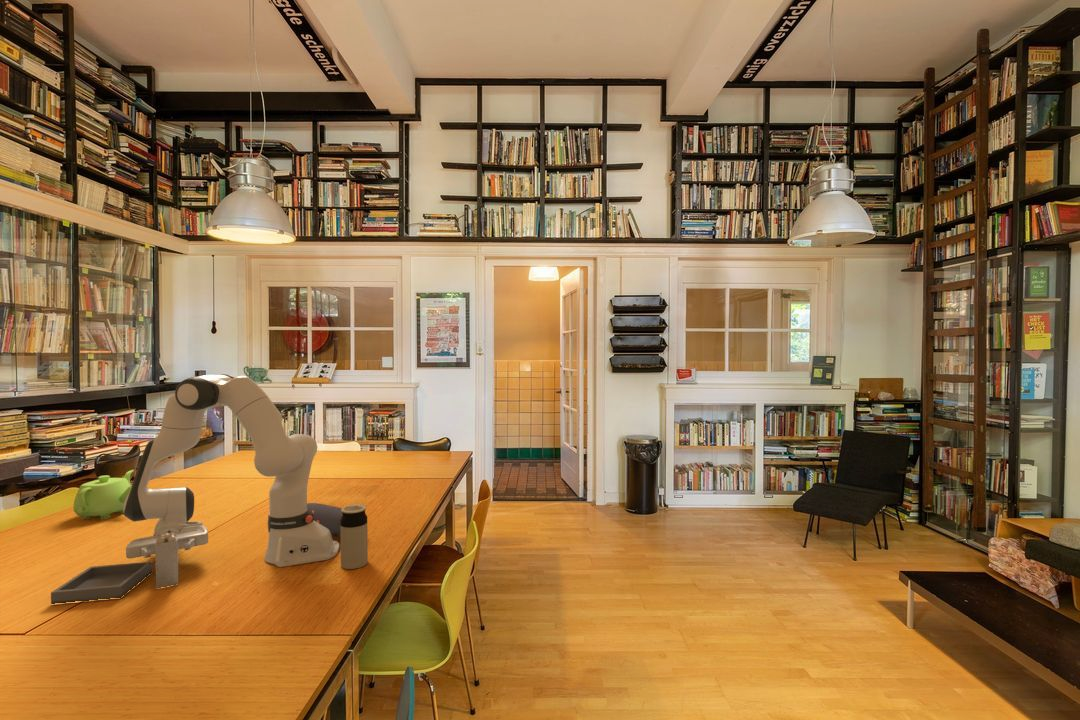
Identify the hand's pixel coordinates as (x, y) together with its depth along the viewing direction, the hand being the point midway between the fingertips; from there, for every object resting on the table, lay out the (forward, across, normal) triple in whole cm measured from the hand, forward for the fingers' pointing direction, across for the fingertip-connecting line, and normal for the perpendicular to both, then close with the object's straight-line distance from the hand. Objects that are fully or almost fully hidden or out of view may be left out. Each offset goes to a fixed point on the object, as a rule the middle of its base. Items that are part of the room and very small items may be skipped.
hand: (167, 551), depth 147 cm
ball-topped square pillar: (+4, 0, +8) cm, 9 cm away
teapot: (-84, -21, +8) cm, 87 cm away
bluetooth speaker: (-12, +47, +9) cm, 49 cm away
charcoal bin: (-3, -15, +8) cm, 17 cm away
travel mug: (+21, +48, +9) cm, 53 cm away
